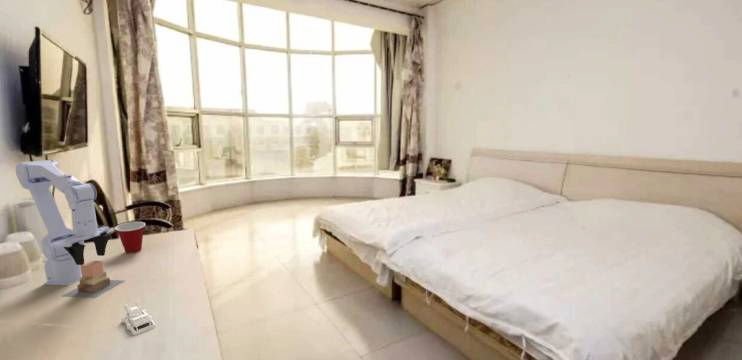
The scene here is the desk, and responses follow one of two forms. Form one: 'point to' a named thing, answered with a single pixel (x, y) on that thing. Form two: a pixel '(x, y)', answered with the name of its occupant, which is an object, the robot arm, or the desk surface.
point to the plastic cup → (131, 236)
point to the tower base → (94, 286)
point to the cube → (91, 268)
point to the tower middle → (92, 279)
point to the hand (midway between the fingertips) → (91, 259)
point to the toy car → (137, 319)
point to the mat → (93, 295)
